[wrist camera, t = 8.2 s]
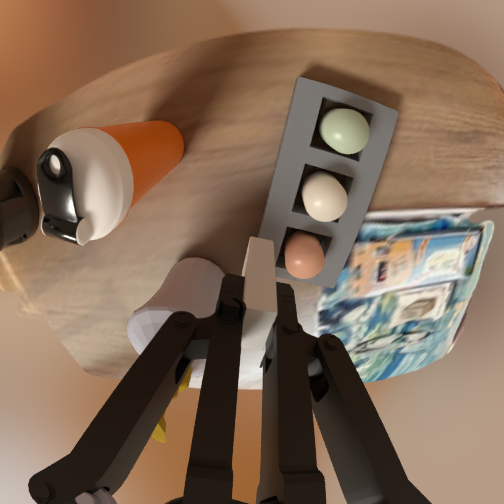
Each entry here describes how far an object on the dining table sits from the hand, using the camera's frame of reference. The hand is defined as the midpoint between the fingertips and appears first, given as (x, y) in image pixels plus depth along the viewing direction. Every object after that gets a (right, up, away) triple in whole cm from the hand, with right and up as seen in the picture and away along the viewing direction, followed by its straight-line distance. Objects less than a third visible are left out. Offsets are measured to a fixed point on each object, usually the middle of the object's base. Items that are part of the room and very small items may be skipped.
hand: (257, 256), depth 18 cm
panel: (+8, +8, +15) cm, 19 cm away
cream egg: (+8, +8, +14) cm, 18 cm away
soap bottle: (-8, -4, +24) cm, 26 cm away
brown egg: (+6, +1, +18) cm, 19 cm away
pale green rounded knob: (+10, +14, +10) cm, 20 cm away
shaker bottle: (-12, +14, +14) cm, 23 cm away
